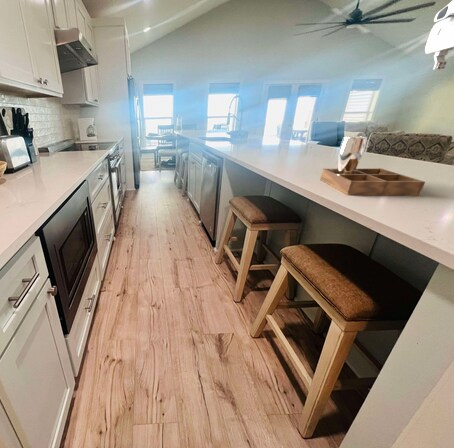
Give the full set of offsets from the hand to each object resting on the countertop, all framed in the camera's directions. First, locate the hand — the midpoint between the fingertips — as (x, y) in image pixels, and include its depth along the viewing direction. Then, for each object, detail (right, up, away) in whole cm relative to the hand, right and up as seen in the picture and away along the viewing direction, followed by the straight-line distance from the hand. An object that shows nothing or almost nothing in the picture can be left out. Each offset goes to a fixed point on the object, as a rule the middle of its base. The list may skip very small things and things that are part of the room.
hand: (453, 66), depth 65 cm
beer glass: (-13, -27, +22) cm, 37 cm away
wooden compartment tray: (-9, -30, +18) cm, 36 cm away
